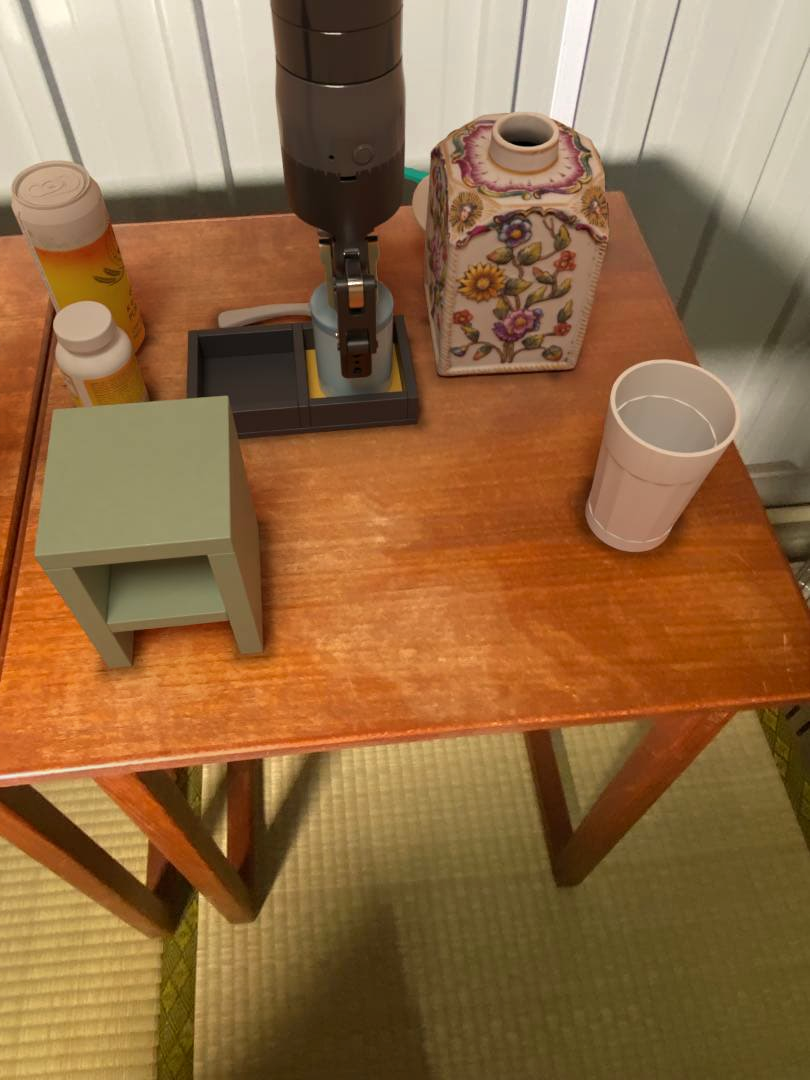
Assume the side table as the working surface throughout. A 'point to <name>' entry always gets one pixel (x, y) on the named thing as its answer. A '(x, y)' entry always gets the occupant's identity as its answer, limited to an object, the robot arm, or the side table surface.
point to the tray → (291, 381)
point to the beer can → (74, 241)
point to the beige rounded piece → (421, 203)
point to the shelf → (150, 522)
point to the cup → (657, 450)
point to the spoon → (261, 314)
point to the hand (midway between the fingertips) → (351, 333)
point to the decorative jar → (513, 244)
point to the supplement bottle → (96, 357)
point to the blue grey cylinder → (330, 356)
